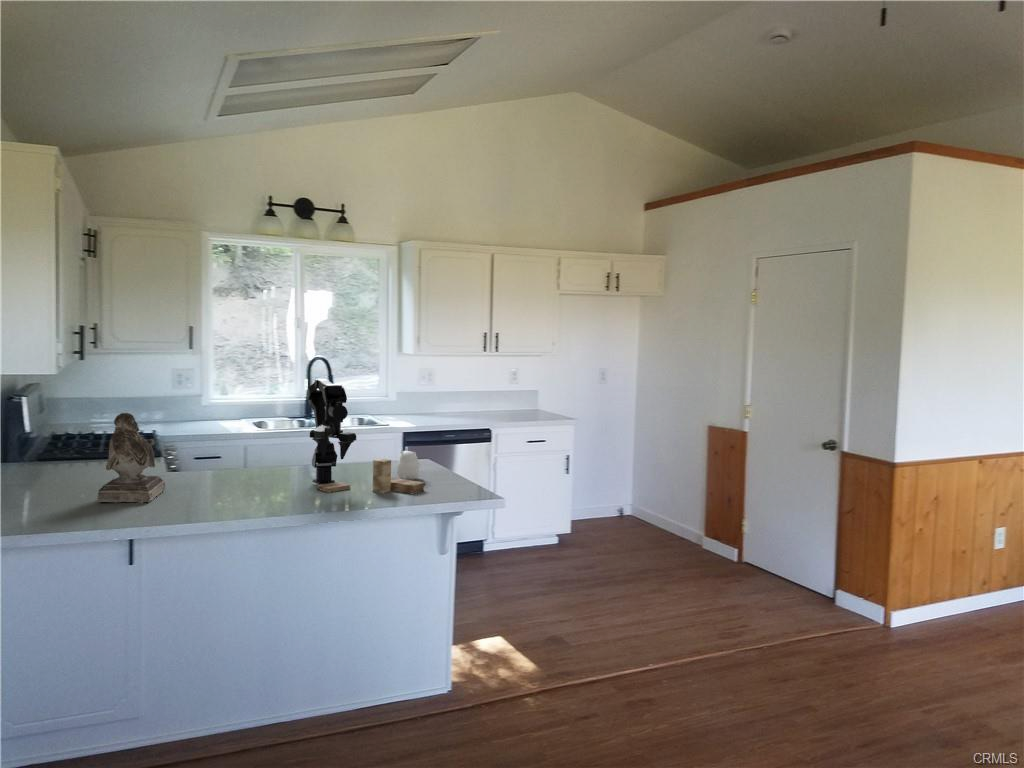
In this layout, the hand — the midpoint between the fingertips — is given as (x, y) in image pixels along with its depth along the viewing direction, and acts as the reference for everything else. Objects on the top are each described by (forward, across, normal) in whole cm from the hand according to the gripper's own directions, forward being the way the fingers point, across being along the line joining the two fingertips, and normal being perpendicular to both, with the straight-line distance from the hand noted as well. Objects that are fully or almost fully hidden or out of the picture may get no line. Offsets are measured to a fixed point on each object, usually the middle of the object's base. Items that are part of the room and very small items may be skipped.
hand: (332, 457), depth 284 cm
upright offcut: (+12, +18, +8) cm, 23 cm away
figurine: (+12, +14, +30) cm, 35 cm away
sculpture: (+12, -47, -50) cm, 70 cm away
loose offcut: (+12, +1, 0) cm, 12 cm away
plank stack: (+12, +22, +14) cm, 28 cm away
